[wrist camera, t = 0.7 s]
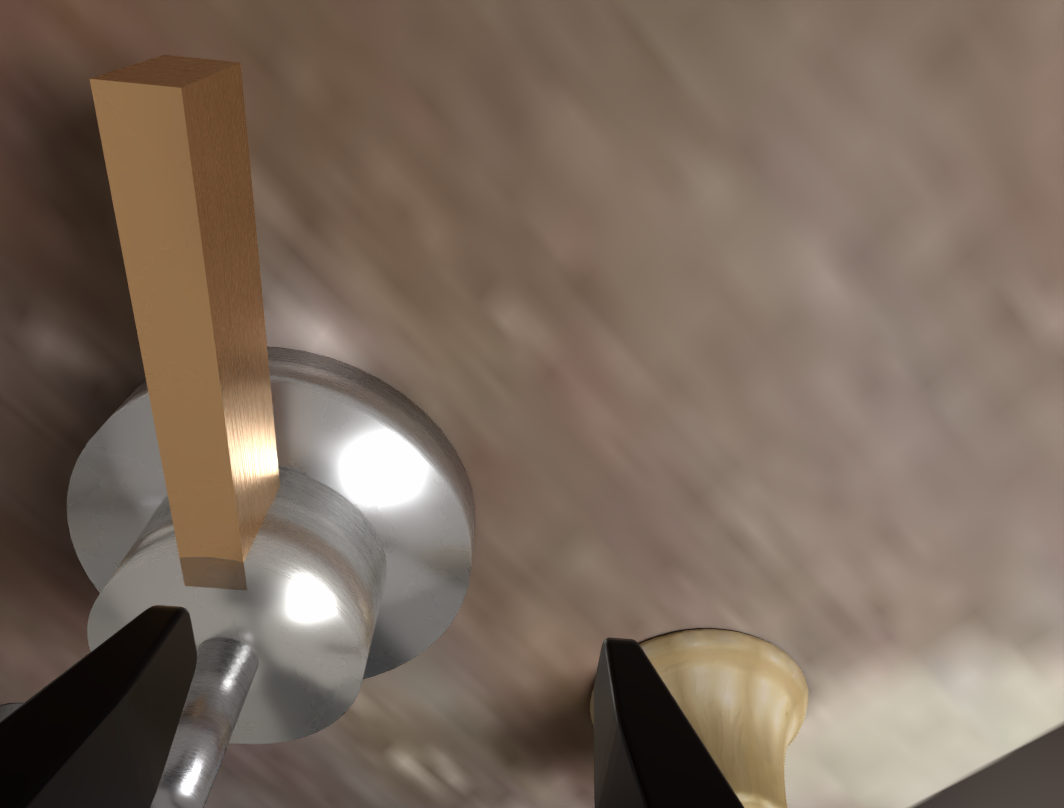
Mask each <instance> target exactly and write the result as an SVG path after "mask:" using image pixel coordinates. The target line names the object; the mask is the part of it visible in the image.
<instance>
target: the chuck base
mask: <svg viewBox="0 0 1064 808" xmlns="http://www.w3.org/2000/svg"><path fill="white" fill-rule="evenodd" d="M267 352H268V363H269V373H270V384H271V395H272V405H273V416H274V427H275V438H276V448H277V459H278V468H279V469H283V470H287V471H292V472H295V473H298V474H301V475H304V476H307V477H309V478H312V479H314V480H316V481H318V482H320V483H322V484H324V485H326V486H328V487H330V488H331V489H333V490H335V491H336V492H338V493H339V494H341V495H342V496H343V497H345V498H346V499H347V500H349V501H350V502H351V503H352V504H353V505H354V506H355V507H357V508H358V509H359V510H360V511H361V512H362V513H363V515H364V516H365V517H366V518H367V519H368V521H369V522H370V523H371V525H372V526H373V528H374V529H375V531H376V533H377V534H378V536H379V538H380V541H381V543H382V545H383V548H384V552H385V556H386V563H387V577H386V583H385V587H384V592H383V596H382V600H381V604H380V608H379V613H378V617H377V621H376V625H375V629H374V633H373V638H372V642H371V646H370V650H369V654H368V659H367V663H366V667H365V671H364V675H363V679H365V678H369V677H373V676H376V675H378V674H381V673H384V672H386V671H389V670H392V669H394V668H396V667H398V666H400V665H402V664H404V663H405V662H407V661H409V660H411V659H413V658H414V657H416V656H417V655H418V654H420V653H421V652H423V651H424V650H426V649H427V648H428V647H429V646H430V645H431V644H433V643H434V642H435V641H436V640H437V639H438V638H439V637H440V636H441V635H442V634H443V633H444V631H445V630H446V629H447V627H448V626H449V625H450V624H451V622H452V621H453V620H454V618H455V616H456V614H457V612H458V610H459V609H460V607H461V605H462V602H463V600H464V597H465V594H466V591H467V588H468V583H469V576H470V570H471V562H472V552H473V543H474V534H475V504H474V498H473V493H472V487H471V485H470V482H469V479H468V476H467V473H466V470H465V468H464V466H463V464H462V462H461V460H460V458H459V456H458V454H457V452H456V450H455V449H454V447H453V446H452V444H451V443H450V442H449V440H448V439H447V437H446V436H445V435H444V433H443V432H442V430H441V429H440V428H439V427H438V426H437V425H436V424H435V423H434V422H433V421H432V420H431V419H430V417H429V416H428V415H427V414H426V413H425V412H424V411H423V410H421V409H420V408H419V407H418V406H417V405H415V404H414V403H413V402H412V401H411V400H410V399H408V398H407V397H406V396H405V395H403V394H402V393H400V392H399V391H397V390H396V389H394V388H393V387H391V386H390V385H388V384H387V383H385V382H384V381H382V380H380V379H378V378H376V377H374V376H372V375H370V374H368V373H366V372H364V371H362V370H360V369H358V368H356V367H353V366H350V365H348V364H345V363H343V362H340V361H337V360H335V359H332V358H328V357H324V356H320V355H316V354H313V353H309V352H305V351H298V350H291V349H284V348H277V347H267ZM167 495H168V494H167V489H166V483H165V478H164V473H163V467H162V462H161V457H160V451H159V446H158V441H157V435H156V430H155V425H154V419H153V414H152V409H151V403H150V398H149V393H148V387H147V382H146V381H145V382H143V383H142V384H141V385H140V386H138V387H137V388H136V389H135V390H134V391H133V392H132V393H131V394H130V395H129V397H128V398H127V399H126V400H125V401H124V402H123V403H122V404H121V405H120V406H119V408H118V409H117V410H116V411H115V412H114V413H113V414H112V415H111V417H110V418H109V419H108V420H107V421H106V422H105V423H104V424H103V425H102V427H101V428H100V429H99V430H98V431H97V432H96V433H95V434H94V436H93V437H92V438H91V439H90V440H89V441H88V443H87V444H86V446H85V448H84V449H83V451H82V453H81V454H80V456H79V457H78V459H77V462H76V464H75V467H74V470H73V472H72V475H71V477H70V482H69V488H68V494H67V520H68V526H69V531H70V536H71V540H72V543H73V545H74V548H75V551H76V554H77V556H78V559H79V561H80V563H81V564H82V566H83V568H84V570H85V572H86V574H87V576H88V577H89V579H90V580H91V582H92V583H93V584H94V586H95V587H96V589H97V590H98V591H99V593H101V592H102V590H103V589H104V587H105V586H106V584H107V583H108V581H109V580H110V578H111V577H112V575H113V574H114V572H115V571H116V569H117V568H118V566H119V565H120V563H121V562H122V560H123V559H124V557H125V556H126V554H127V553H128V551H129V550H130V548H131V547H132V545H133V544H134V542H135V541H136V539H137V538H138V536H139V535H140V533H141V532H142V530H143V529H144V527H145V526H146V524H147V523H148V521H149V520H150V518H151V517H152V515H153V514H154V512H155V511H156V509H157V508H158V506H159V505H160V504H161V502H162V501H163V499H164V498H165V497H166V496H167Z"/></svg>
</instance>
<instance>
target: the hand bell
mask: <svg viewBox="0 0 1064 808" xmlns="http://www.w3.org/2000/svg"><path fill="white" fill-rule="evenodd" d="M639 645H640V646H641V648H642V649H643V651H644V652H645V654H646V655H647V657H648V658H649V660H650V662H651V663H652V665H653V666H654V668H655V669H656V671H657V672H658V674H659V676H660V677H661V679H662V680H663V682H664V683H665V685H666V686H667V688H668V690H669V691H670V693H671V694H672V696H673V697H674V699H675V700H676V702H677V703H678V705H679V707H680V708H681V710H682V711H683V713H684V714H685V716H686V717H687V719H688V721H689V722H690V724H691V725H692V727H693V728H694V730H695V731H696V733H697V735H698V736H699V738H700V739H701V741H702V742H703V744H704V745H705V747H706V749H707V750H708V752H709V753H710V755H711V756H712V758H713V759H714V761H715V762H716V764H717V766H718V767H719V769H720V770H721V772H722V773H723V775H724V776H725V778H726V780H727V781H728V783H729V784H730V786H731V787H732V789H733V790H734V792H735V794H736V795H737V797H738V798H739V800H740V801H741V803H742V804H743V806H744V807H745V808H787V803H786V794H785V781H784V762H785V754H786V750H787V747H788V746H789V744H790V743H791V742H792V741H793V740H794V738H795V737H796V735H797V734H798V732H799V730H800V728H801V726H802V724H803V722H804V719H805V715H806V711H807V706H808V688H807V684H806V680H805V678H804V675H803V673H802V671H801V669H800V668H799V667H798V666H797V664H796V663H795V662H794V660H793V659H792V658H791V657H789V656H788V655H787V654H786V653H785V652H784V651H782V650H780V649H779V648H778V647H776V646H775V645H773V644H771V643H769V642H767V641H765V640H762V639H760V638H757V637H754V636H751V635H748V634H744V633H740V632H735V631H728V630H718V629H695V630H686V631H680V632H675V633H671V634H667V635H664V636H660V637H656V638H653V639H651V640H648V641H645V642H643V643H641V644H639ZM590 715H591V720H592V723H593V726H594V688H593V691H592V694H591V700H590Z"/></svg>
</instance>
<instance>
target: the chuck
mask: <svg viewBox="0 0 1064 808" xmlns="http://www.w3.org/2000/svg"><path fill="white" fill-rule="evenodd" d="M90 84H91V89H92V94H93V100H94V105H95V110H96V116H97V121H98V126H99V132H100V137H101V142H102V148H103V153H104V158H105V164H106V169H107V174H108V180H109V185H110V190H111V196H112V201H113V206H114V211H115V217H116V222H117V227H118V233H119V238H120V243H121V249H122V254H123V259H124V265H125V270H126V275H127V281H128V286H129V291H130V297H131V302H132V307H133V313H134V318H135V323H136V329H137V334H138V339H139V345H140V350H141V355H142V361H143V366H144V371H145V377H146V382H147V387H148V393H149V398H150V403H151V409H152V414H153V419H154V425H155V430H156V435H157V441H158V446H159V451H160V457H161V462H162V467H163V473H164V478H165V483H166V489H167V494H168V495H167V496H166V497H165V498H164V499H163V501H162V502H161V504H160V505H159V506H158V508H157V509H156V511H155V512H154V514H153V515H152V517H151V518H150V520H149V521H148V523H147V524H146V526H145V527H144V529H143V530H142V532H141V533H140V535H139V536H138V538H137V539H136V541H135V542H134V544H133V545H132V547H131V548H130V550H129V551H128V553H127V554H126V556H125V557H124V559H123V560H122V562H121V563H120V565H119V566H118V568H117V569H116V571H115V572H114V574H113V575H112V577H111V578H110V580H109V581H108V583H107V584H106V586H105V587H104V589H103V590H102V592H101V593H100V595H99V596H98V598H97V599H96V601H95V602H94V605H93V607H92V609H91V611H90V615H89V619H88V624H87V638H88V643H89V648H90V651H93V650H94V649H95V648H97V647H98V646H99V645H100V644H102V643H103V642H104V641H106V640H107V639H108V638H110V637H111V636H112V635H113V634H115V633H116V632H117V631H119V630H120V629H121V628H123V627H124V626H125V625H126V624H128V623H129V622H130V621H132V620H133V619H134V618H136V617H137V616H138V615H140V614H141V613H142V612H143V611H145V610H146V609H148V608H150V607H152V606H155V605H165V606H179V607H184V608H186V609H187V610H188V611H189V614H190V617H191V622H192V627H193V633H194V638H195V643H196V649H197V665H196V670H195V673H194V677H193V680H192V683H191V686H190V689H189V692H188V696H187V699H186V702H185V705H184V708H183V711H182V714H181V718H180V721H179V724H178V727H177V730H176V733H175V737H174V740H173V743H172V746H171V749H170V752H169V756H168V759H167V762H166V765H165V768H164V771H163V774H162V777H161V780H160V783H159V786H158V789H157V792H156V794H155V797H154V799H153V802H152V804H151V807H150V808H204V806H205V803H206V801H207V798H208V795H209V793H210V790H211V788H212V785H213V782H214V780H215V777H216V775H217V772H218V769H219V767H220V764H221V762H222V759H223V757H224V754H225V751H226V749H227V746H228V744H229V743H238V744H269V743H278V742H285V741H290V740H294V739H298V738H302V737H305V736H308V735H310V734H313V733H316V732H318V731H320V730H322V729H324V728H326V727H328V726H329V725H330V724H332V723H333V722H335V721H336V720H338V719H339V718H340V717H341V716H342V715H343V714H344V713H345V712H346V711H347V710H348V709H349V708H350V706H351V705H352V704H353V702H354V701H355V699H356V697H357V695H358V693H359V691H360V687H361V683H362V680H363V675H364V671H365V667H366V663H367V659H368V654H369V650H370V646H371V642H372V638H373V633H374V629H375V625H376V621H377V617H378V613H379V608H380V604H381V600H382V596H383V592H384V587H385V583H386V577H387V563H386V556H385V552H384V548H383V545H382V543H381V541H380V538H379V536H378V534H377V533H376V531H375V529H374V528H373V526H372V525H371V523H370V522H369V521H368V519H367V518H366V517H365V516H364V515H363V513H362V512H361V511H360V510H359V509H358V508H357V507H355V506H354V505H353V504H352V503H351V502H350V501H349V500H347V499H346V498H345V497H343V496H342V495H341V494H339V493H338V492H336V491H335V490H333V489H331V488H330V487H328V486H326V485H324V484H322V483H320V482H318V481H316V480H314V479H312V478H309V477H307V476H304V475H301V474H298V473H295V472H292V471H287V470H283V469H279V468H278V459H277V448H276V438H275V427H274V416H273V405H272V395H271V384H270V373H269V363H268V352H267V341H266V330H265V320H264V309H263V298H262V288H261V277H260V266H259V256H258V245H257V234H256V223H255V213H254V202H253V191H252V181H251V170H250V159H249V148H248V138H247V127H246V116H245V106H244V95H243V84H242V73H241V63H240V62H230V61H220V60H210V59H200V58H190V57H180V56H170V55H163V56H159V57H156V58H153V59H150V60H147V61H144V62H141V63H137V64H134V65H131V66H128V67H125V68H122V69H119V70H116V71H112V72H109V73H106V74H103V75H100V76H97V77H94V78H90Z"/></svg>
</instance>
